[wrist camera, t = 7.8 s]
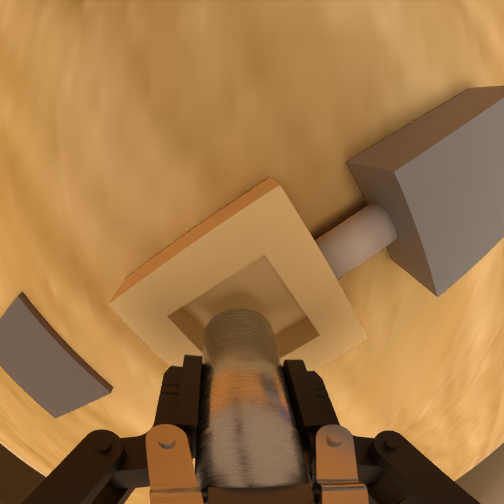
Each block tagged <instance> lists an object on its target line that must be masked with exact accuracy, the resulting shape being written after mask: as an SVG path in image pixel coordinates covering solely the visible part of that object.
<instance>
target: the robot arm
mask: <svg viewBox="0 0 504 504" xmlns="http://www.w3.org/2000/svg"><path fill="white" fill-rule="evenodd" d="M282 368H283V372H284V376H285V380H286V384H287V387H288V391H289V395H290V399H291V403H292V407H293V411H294V415H295V419H296V423H297V427H298V431H299V435H300V439H301V443H302V447H303V451H304V455H305V459H306V463H307V467H308V471H309V475H310V479H311V483H312V493H313V497H314V501H315V504H480V503H479V502H478V501H477V500H475V499H474V498H473V497H472V496H471V495H469V494H468V493H467V492H466V491H465V490H463V489H462V488H461V487H460V486H459V485H457V484H456V483H455V482H454V481H453V480H452V479H450V478H449V477H448V476H447V475H446V474H445V473H443V472H442V471H441V470H440V469H439V468H438V467H437V466H435V465H434V464H433V463H432V462H431V461H430V460H429V459H427V458H426V457H425V456H424V455H423V454H422V453H421V452H420V451H418V450H417V449H416V448H415V447H414V446H413V445H412V444H411V443H409V442H408V441H407V440H406V439H405V438H404V437H403V436H402V435H400V434H399V433H397V432H394V431H383V432H381V433H379V434H378V435H377V436H376V437H375V438H366V437H357V436H353V435H352V434H351V433H350V432H349V431H348V430H347V429H346V428H344V427H342V426H340V424H339V422H338V419H337V416H336V414H335V411H334V408H333V406H332V403H331V401H330V398H329V397H328V396H329V395H328V393H327V390H326V388H325V385H324V383H323V380H322V378H321V377H320V376H319V375H318V374H317V373H316V372H315V371H307V369H306V366H305V363H304V361H303V360H302V359H296V360H284V362H283V366H282ZM201 375H202V356H195V355H184V361H183V367H180V366H170V368H169V369H168V370H167V371H166V372H165V373H164V377H163V381H162V386H161V391H160V396H159V401H158V406H157V411H156V416H155V421H154V425H153V427H152V428H151V429H150V430H149V431H148V432H147V433H145V434H143V435H141V436H137V437H128V438H119V436H118V435H116V434H115V433H113V432H111V431H109V430H102V429H101V430H95V431H92V432H91V433H89V434H88V435H87V436H86V437H85V438H84V439H83V440H82V441H81V442H80V443H79V444H78V445H77V446H76V447H75V448H74V449H73V450H72V451H71V453H70V454H69V455H68V456H67V457H66V458H65V459H64V460H63V461H62V462H61V463H60V464H59V465H58V466H57V467H56V468H55V469H54V470H53V471H52V472H51V473H50V474H49V475H48V476H47V478H46V479H45V480H44V481H43V482H42V483H41V484H40V485H39V486H38V487H37V488H36V489H35V490H34V491H33V492H32V493H31V494H30V495H29V496H28V497H27V498H26V499H25V500H24V501H23V502H22V503H21V504H124V503H125V501H126V500H127V499H128V497H129V496H130V494H131V493H132V492H133V490H134V489H135V488H139V487H148V486H150V503H151V504H204V502H203V499H202V495H201V492H200V489H199V487H198V484H197V480H196V475H195V471H194V467H193V458H195V456H196V441H197V438H198V422H199V405H200V389H201Z"/></svg>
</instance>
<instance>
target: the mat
mask: <svg viewBox="0 0 504 504" xmlns="http://www.w3.org/2000/svg"><path fill="white" fill-rule="evenodd" d="M0 366H1V367H2V368H3V370H4V371H5V372H6V373H7V374H8V375H9V376H10V377H11V378H12V379H13V380H14V381H15V382H16V383H17V384H18V385H19V386H20V387H21V388H22V389H23V390H24V391H25V392H26V393H27V394H28V395H29V396H30V397H31V398H33V399H34V400H35V401H36V402H37V403H38V404H39V405H40V406H41V407H43V408H44V409H45V410H46V411H47V412H48V413H50V414H51V415H52V416H53V417H54V418H57V417H60V416H62V415H64V414H66V413H69V412H71V411H73V410H75V409H77V408H80V407H82V406H84V405H86V404H88V403H90V402H93V401H95V400H97V399H99V398H101V397H103V396H105V395H107V394H109V393H111V391H112V389H113V387H112V386H111V385H109V384H108V383H107V382H106V381H105V380H104V379H103V378H101V377H100V376H99V375H98V374H97V373H96V372H95V371H94V370H93V369H92V368H91V367H89V366H88V365H87V364H86V363H85V362H84V361H83V360H82V359H81V358H80V357H79V356H78V355H77V354H76V353H75V352H74V351H73V350H72V349H71V348H70V347H69V346H68V345H67V344H66V343H65V342H64V341H63V340H62V338H61V337H60V336H59V335H58V334H57V333H56V332H55V331H54V330H53V329H52V328H51V326H50V325H49V324H48V323H47V322H46V321H45V320H44V318H43V317H42V316H41V315H40V314H39V312H38V311H37V310H36V309H35V308H34V306H33V305H32V304H31V303H30V301H29V300H28V299H27V298H26V296H25V295H24V294H23V293H21V294H20V295H19V296H18V297H17V298H16V299H15V300H14V302H13V303H12V304H11V305H10V307H9V308H8V309H7V311H6V312H5V313H4V315H3V316H2V317H1V319H0Z"/></svg>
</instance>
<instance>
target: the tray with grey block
mask: <svg viewBox="0 0 504 504" xmlns="http://www.w3.org/2000/svg"><path fill="white" fill-rule="evenodd" d="M346 163H347V165H348V167H349V169H350V171H351V173H352V174H353V176H354V178H355V180H356V182H357V184H358V186H359V188H360V190H361V192H362V194H363V196H364V198H365V200H366V202H367V204H368V205H367V206H366V207H364V208H363V209H361V210H360V211H358V212H357V213H355V214H354V215H352V216H351V217H349V218H348V219H346V220H345V221H343V222H342V223H340V224H339V225H337V226H336V227H334V228H333V229H331V230H330V231H328V232H327V233H325V234H324V235H322V236H321V237H319V238H317V239H316V240H314V239H313V237H312V235H311V234H310V232H309V230H308V229H307V227H306V226H305V224H304V222H303V221H302V219H301V217H300V216H299V214H298V212H297V211H296V209H295V208H294V206H293V204H292V203H291V201H290V200H289V198H288V196H287V195H286V193H285V192H284V190H283V189H282V187H281V185H280V184H278V183H277V182H276V181H274V180H273V179H271V178H270V177H269V178H268V179H266V180H265V181H263V182H262V183H260V184H259V185H257V186H256V187H254V188H252V189H251V190H249V191H248V192H246V193H245V194H243V195H242V196H240V197H239V198H237V199H236V200H234V201H233V202H232V203H230V204H229V205H227V206H226V207H224V208H223V209H221V210H220V211H218V212H217V213H215V214H214V215H212V216H211V217H210V218H208V219H207V220H205V221H204V222H202V223H201V224H200V225H198V226H197V227H195V228H194V229H192V230H191V231H190V232H188V233H187V234H185V235H184V236H183V237H181V238H180V239H178V240H177V241H176V242H174V243H173V244H171V245H170V246H169V247H167V248H166V249H165V250H163V251H162V252H160V253H159V254H158V255H156V256H155V257H154V258H152V259H151V260H150V261H148V262H147V263H146V264H144V265H143V266H142V267H140V268H139V269H138V270H136V271H135V272H134V273H132V274H131V275H130V276H128V277H127V278H126V279H125V280H124V281H123V283H122V284H121V286H120V287H119V289H118V290H117V292H116V293H115V295H114V296H113V298H112V300H111V301H110V303H109V304H108V305H109V306H110V307H111V308H112V310H113V311H114V312H115V313H116V314H117V315H118V316H119V317H120V318H121V319H122V320H123V322H124V323H125V324H126V325H127V326H128V327H129V328H130V329H131V330H132V331H133V332H134V333H135V334H136V335H137V336H138V337H139V338H140V339H141V340H142V341H143V342H144V343H145V344H146V345H147V346H148V347H149V348H150V349H151V350H152V351H153V352H154V353H155V354H156V355H157V356H158V357H159V358H160V359H162V360H163V361H164V362H165V363H166V364H167V365H168V366H169V367H170V366H180V367H183V361H184V355H195V356H202V350H203V339H204V331H205V328H206V326H207V324H208V322H209V321H210V320H211V319H212V318H213V317H214V316H215V315H217V314H218V313H220V312H222V311H225V310H228V309H233V308H246V309H251V310H254V311H257V312H259V313H260V314H262V315H263V316H265V317H266V318H267V319H268V321H269V322H270V324H271V325H272V328H273V332H274V336H275V340H276V344H277V348H278V352H279V356H280V360H281V364H282V366H283V362H284V360H296V359H302V360H303V361H304V363H305V366H306V369H307V371H315V370H316V369H318V368H320V367H322V366H323V365H325V364H327V363H329V362H330V361H332V360H334V359H335V358H337V357H339V356H340V355H342V354H344V353H345V352H347V351H349V350H350V349H352V348H353V347H355V346H357V345H358V344H360V343H361V342H363V341H364V340H366V339H368V336H367V334H366V332H365V330H364V328H363V326H362V324H361V322H360V320H359V319H358V317H357V315H356V313H355V311H354V309H353V307H352V306H351V304H350V302H349V300H348V298H347V296H346V295H345V293H344V291H343V289H342V287H341V286H340V284H339V282H338V279H340V278H341V277H343V276H344V275H346V274H347V273H349V272H350V271H352V270H353V269H355V268H356V267H358V266H359V265H361V264H362V263H363V262H365V261H366V260H368V259H369V258H371V257H372V256H374V255H375V254H377V253H378V252H379V251H381V250H382V249H384V248H385V247H386V246H387V248H388V251H389V253H390V256H391V258H392V260H393V261H394V262H395V263H396V264H398V265H399V266H400V267H401V268H403V269H404V270H405V271H407V272H408V273H409V274H410V275H411V276H413V277H414V278H415V279H416V280H418V281H419V282H420V283H421V284H422V285H424V286H425V287H426V288H427V289H428V290H430V291H431V292H432V293H433V294H434V295H436V296H437V297H438V296H440V295H441V294H442V293H443V292H445V291H446V290H447V289H448V288H449V287H451V286H452V285H453V284H454V283H455V282H456V281H458V280H459V279H460V278H461V277H462V276H463V275H464V274H465V273H467V272H468V271H469V270H470V269H471V268H472V267H473V266H474V265H475V264H476V263H478V262H479V261H480V260H481V259H482V258H483V257H484V256H485V255H486V254H487V253H488V252H489V251H490V250H491V249H492V248H493V247H494V246H495V245H496V244H497V243H498V242H499V241H500V240H501V239H502V238H503V237H504V86H491V87H478V88H469V89H467V90H466V91H464V92H462V93H460V94H459V95H457V96H455V97H453V98H452V99H450V100H448V101H447V102H445V103H443V104H441V105H440V106H438V107H436V108H435V109H433V110H431V111H429V112H428V113H426V114H424V115H423V116H421V117H419V118H418V119H416V120H414V121H413V122H411V123H409V124H408V125H406V126H404V127H403V128H401V129H399V130H398V131H396V132H394V133H393V134H391V135H389V136H388V137H386V138H384V139H383V140H381V141H379V142H378V143H376V144H375V145H373V146H371V147H370V148H368V149H366V150H365V151H363V152H362V153H360V154H358V155H357V156H355V157H353V158H352V159H350V160H349V161H347V162H346Z"/></svg>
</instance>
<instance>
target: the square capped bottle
mask: <svg viewBox="0 0 504 504" xmlns="http://www.w3.org/2000/svg"><path fill="white" fill-rule="evenodd" d="M195 475H196V480H197V484H198V487H199V489H200V492H201V495H202V499H203V502H204V504H315V501H314V497H313V493H312V483H311V479H310V475H309V471H308V467H307V463H306V459H305V455H304V451H303V447H302V443H301V439H300V435H299V431H298V427H297V423H296V419H295V415H294V411H293V407H292V403H291V399H290V395H289V391H288V387H287V384H286V380H285V376H284V372H283V368H282V364H281V360H280V356H279V352H278V348H277V344H276V340H275V336H274V332H273V328H272V325H271V324H270V322H269V321H268V319H267V318H266V317H265V316H263V315H262V314H260V313H259V312H257V311H254V310H251V309H246V308H233V309H228V310H225V311H222V312H220V313H218V314H217V315H215V316H214V317H213V318H212V319H211V320H210V321H209V322H208V324H207V326H206V328H205V331H204V339H203V350H202V375H201V389H200V405H199V422H198V438H197V441H196V456H195Z"/></svg>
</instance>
